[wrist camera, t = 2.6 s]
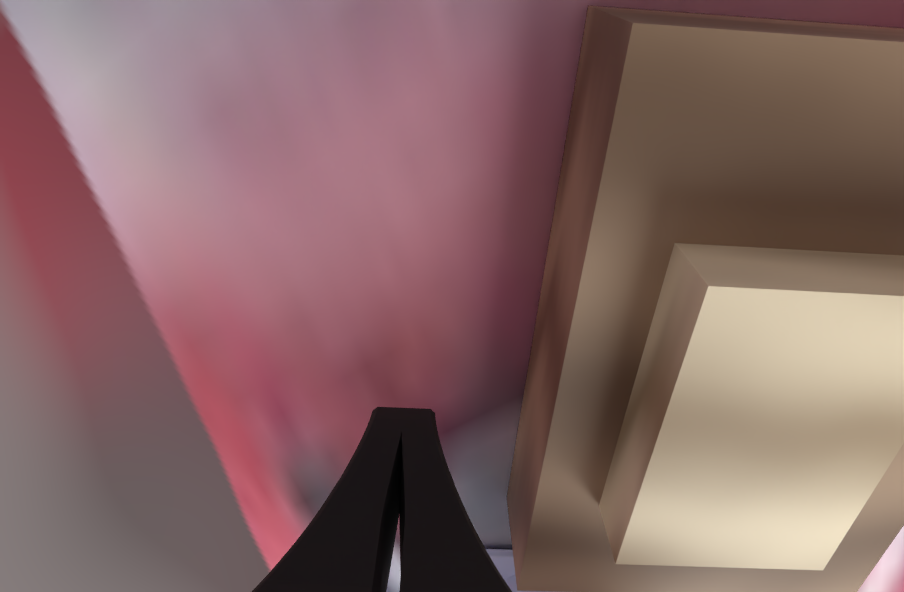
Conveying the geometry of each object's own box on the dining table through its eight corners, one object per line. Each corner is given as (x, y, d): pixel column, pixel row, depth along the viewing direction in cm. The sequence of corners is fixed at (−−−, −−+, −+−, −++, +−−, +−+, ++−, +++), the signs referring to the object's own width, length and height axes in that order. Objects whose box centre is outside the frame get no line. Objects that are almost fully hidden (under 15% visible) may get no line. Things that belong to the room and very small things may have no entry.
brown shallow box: (793, 507, 24) (850, 599, 21) (506, 497, 24) (516, 590, 20) (1047, 38, 15) (1227, 65, 12) (587, 5, 14) (633, 23, 11)
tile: (787, 512, 18) (823, 570, 17) (598, 505, 18) (614, 564, 16) (925, 256, 14) (993, 300, 12) (674, 243, 13) (708, 286, 12)
